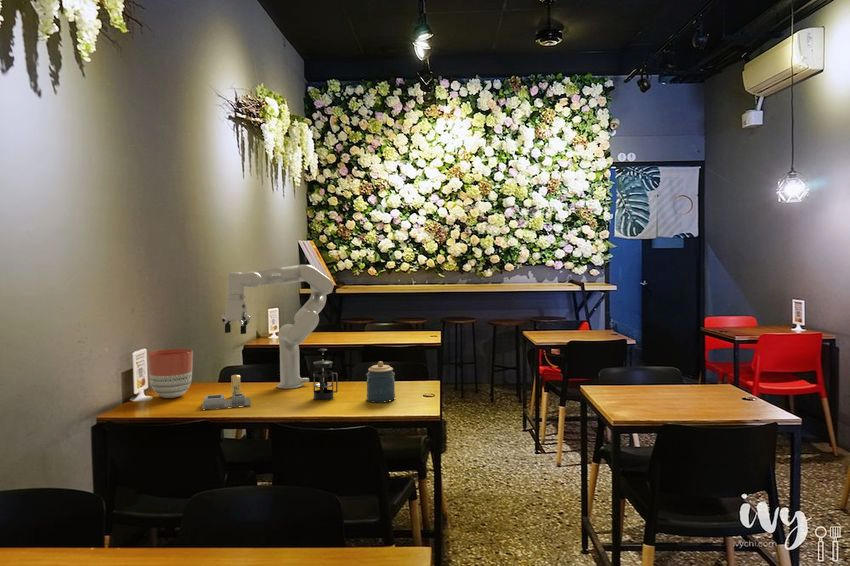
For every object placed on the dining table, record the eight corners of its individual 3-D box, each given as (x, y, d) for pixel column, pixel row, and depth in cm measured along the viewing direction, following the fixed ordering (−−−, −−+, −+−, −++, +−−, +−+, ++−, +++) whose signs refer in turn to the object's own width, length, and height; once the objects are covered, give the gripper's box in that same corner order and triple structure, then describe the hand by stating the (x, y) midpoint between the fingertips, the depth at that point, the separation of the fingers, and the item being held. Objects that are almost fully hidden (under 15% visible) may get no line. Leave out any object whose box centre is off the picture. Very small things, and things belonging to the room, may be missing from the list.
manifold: (249, 399, 267) (249, 390, 267) (250, 406, 254) (250, 397, 254) (203, 403, 261) (203, 394, 261) (201, 410, 248) (201, 401, 248)
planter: (162, 404, 260) (161, 356, 259) (141, 398, 272) (139, 352, 271) (202, 395, 275) (201, 350, 275) (180, 390, 287) (178, 347, 286)
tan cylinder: (240, 395, 275) (240, 374, 275) (240, 397, 272) (240, 376, 271) (231, 396, 274) (231, 375, 274) (231, 398, 270) (231, 376, 270)
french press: (309, 401, 263) (308, 350, 262) (314, 396, 273) (313, 347, 272) (335, 401, 263) (334, 350, 262) (339, 396, 272) (338, 347, 271)
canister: (391, 403, 257) (390, 364, 256) (363, 402, 259) (362, 363, 259) (398, 396, 270) (397, 359, 269) (371, 395, 272) (370, 358, 271)
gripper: (255, 298, 278) (254, 333, 279) (227, 296, 285) (227, 331, 286) (244, 298, 271) (244, 335, 272) (216, 297, 279) (216, 332, 279)
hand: (235, 333), depth 279 cm, fingers open, 9 cm apart
